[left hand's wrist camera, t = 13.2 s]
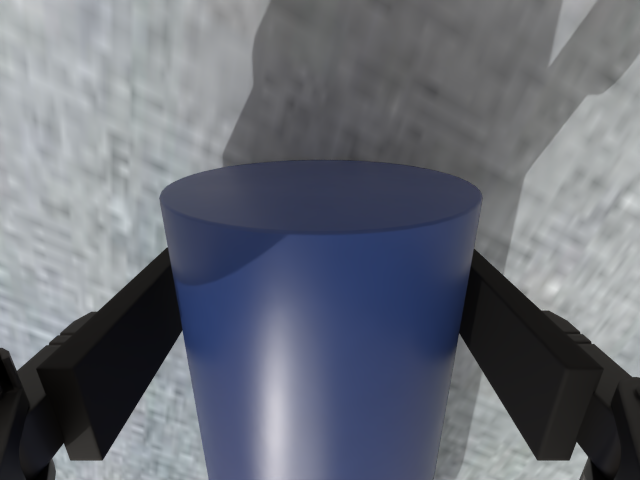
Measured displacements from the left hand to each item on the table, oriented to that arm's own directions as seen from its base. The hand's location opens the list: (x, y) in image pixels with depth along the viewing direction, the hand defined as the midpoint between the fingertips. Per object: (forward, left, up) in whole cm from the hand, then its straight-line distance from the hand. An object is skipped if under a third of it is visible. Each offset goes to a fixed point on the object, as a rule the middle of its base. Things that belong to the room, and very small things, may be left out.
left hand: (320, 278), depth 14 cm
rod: (+9, -2, -2) cm, 10 cm away
